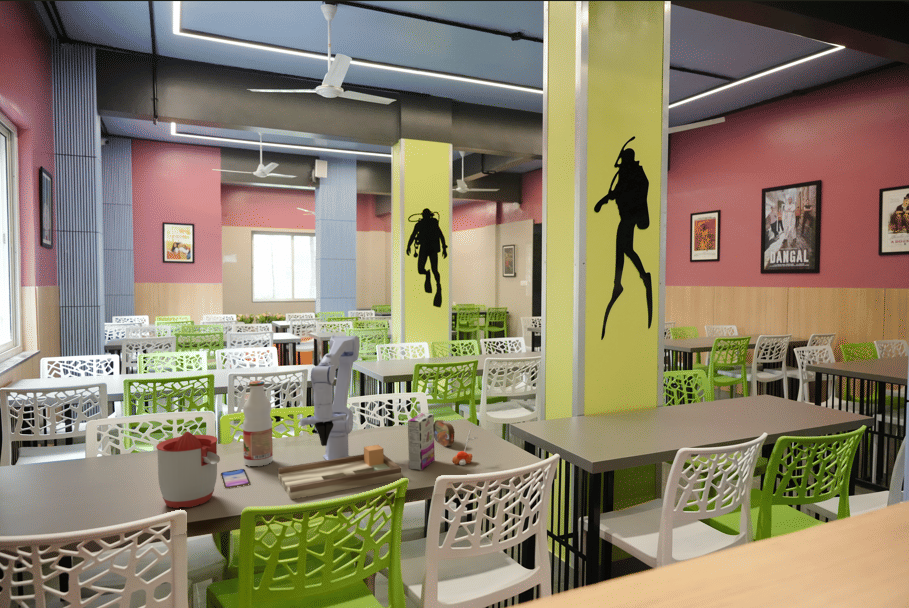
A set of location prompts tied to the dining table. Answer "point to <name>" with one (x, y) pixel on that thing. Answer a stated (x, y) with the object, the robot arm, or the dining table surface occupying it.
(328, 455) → the robot arm
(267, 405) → the fruit juice
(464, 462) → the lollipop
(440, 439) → the tin
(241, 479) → the smartphone
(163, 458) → the citrus juicer
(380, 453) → the block
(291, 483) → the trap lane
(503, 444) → the dining table surface
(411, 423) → the candy bar box
